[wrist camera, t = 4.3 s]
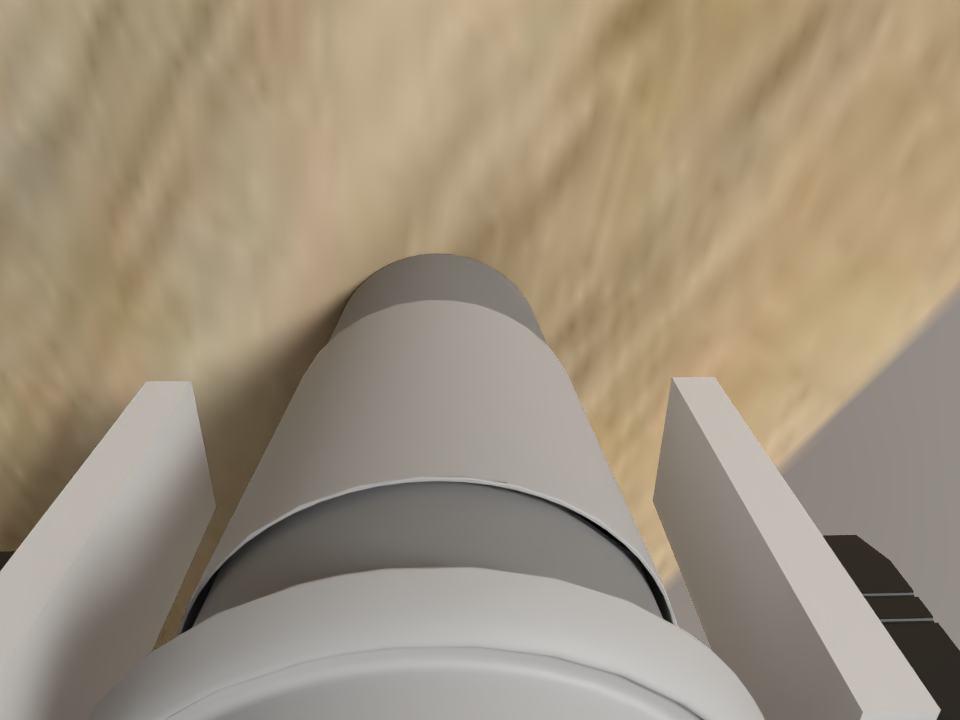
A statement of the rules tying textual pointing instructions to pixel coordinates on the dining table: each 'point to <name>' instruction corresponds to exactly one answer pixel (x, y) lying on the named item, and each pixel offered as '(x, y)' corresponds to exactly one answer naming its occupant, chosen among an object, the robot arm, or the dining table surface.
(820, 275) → the dining table surface
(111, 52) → the dining table surface
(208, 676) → the cup
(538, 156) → the dining table surface
